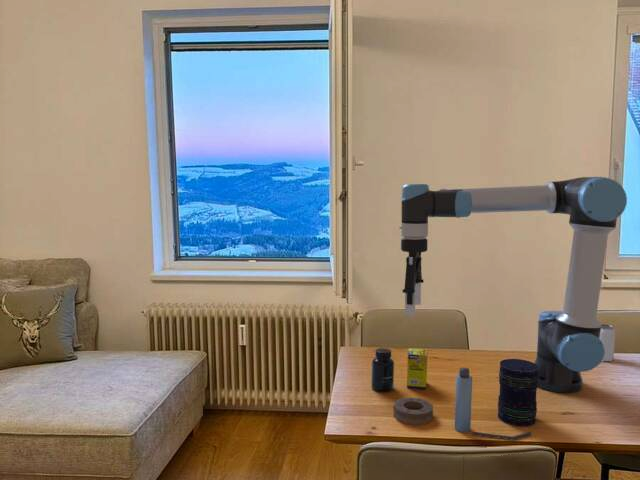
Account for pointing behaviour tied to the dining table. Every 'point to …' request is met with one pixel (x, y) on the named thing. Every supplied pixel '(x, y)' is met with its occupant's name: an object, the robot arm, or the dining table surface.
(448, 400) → the dining table surface
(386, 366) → the supplement bottle
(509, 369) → the storage jar
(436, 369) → the dining table surface
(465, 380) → the round-tipped blue peg
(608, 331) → the can
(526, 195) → the robot arm
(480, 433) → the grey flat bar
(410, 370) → the supplement box
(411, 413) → the bead
